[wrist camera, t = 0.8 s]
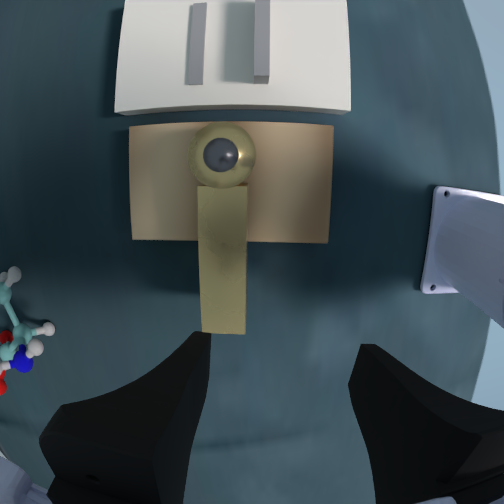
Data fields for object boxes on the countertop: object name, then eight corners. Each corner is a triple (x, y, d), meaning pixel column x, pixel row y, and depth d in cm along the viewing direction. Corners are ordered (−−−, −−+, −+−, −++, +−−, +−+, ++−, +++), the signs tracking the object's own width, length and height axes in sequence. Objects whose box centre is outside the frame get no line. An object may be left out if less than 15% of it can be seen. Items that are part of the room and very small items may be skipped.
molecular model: (-51, 260, 18) (-80, 342, 11) (35, 239, 22) (27, 322, 15) (-7, 348, 25) (-9, 428, 17) (66, 333, 29) (79, 414, 22)
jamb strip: (326, 128, 19) (333, 125, 17) (322, 235, 21) (327, 243, 19) (139, 128, 19) (129, 126, 17) (142, 232, 21) (132, 239, 19)
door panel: (338, 3, 16) (353, -23, 12) (342, 115, 19) (361, 105, 15) (135, 7, 16) (114, -17, 13) (126, 115, 19) (99, 108, 15)
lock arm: (199, 128, 17) (186, 121, 14) (256, 128, 17) (256, 120, 14) (202, 310, 20) (192, 339, 17) (253, 311, 20) (252, 342, 17)
